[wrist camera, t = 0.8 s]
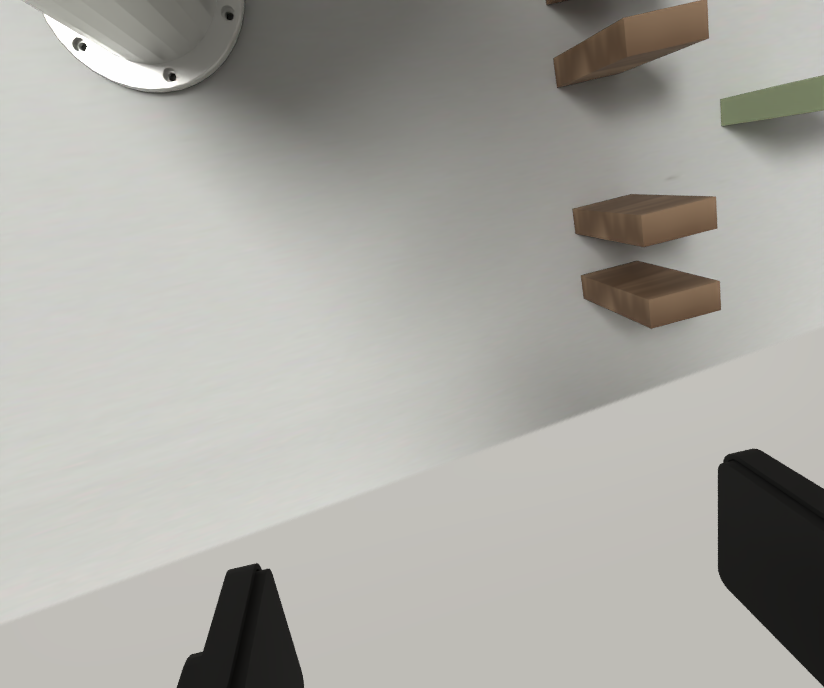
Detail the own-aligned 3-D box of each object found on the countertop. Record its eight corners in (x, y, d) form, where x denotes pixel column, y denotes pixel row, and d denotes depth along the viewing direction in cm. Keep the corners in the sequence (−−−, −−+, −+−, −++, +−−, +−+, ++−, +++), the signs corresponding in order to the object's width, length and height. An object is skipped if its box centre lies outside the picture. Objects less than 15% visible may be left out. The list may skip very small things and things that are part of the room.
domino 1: (553, 58, 39) (623, 17, 30) (617, 43, 39) (707, -2, 30) (557, 87, 40) (627, 56, 30) (620, 73, 40) (708, 38, 31)
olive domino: (720, 99, 42) (834, 73, 32) (778, 85, 42) (909, 55, 32) (721, 126, 42) (833, 108, 33) (779, 112, 43) (907, 91, 33)
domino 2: (572, 208, 42) (641, 215, 33) (631, 194, 43) (715, 196, 33) (575, 233, 43) (643, 247, 34) (633, 218, 43) (717, 228, 34)
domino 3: (580, 275, 44) (648, 299, 35) (637, 260, 44) (719, 281, 35) (583, 298, 45) (651, 328, 35) (639, 283, 45) (720, 309, 36)
